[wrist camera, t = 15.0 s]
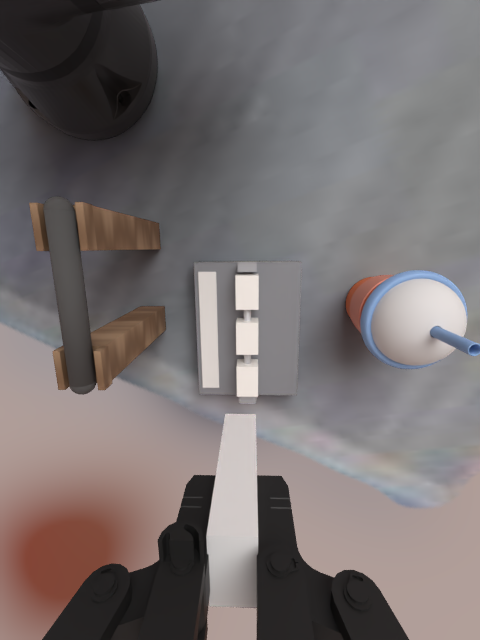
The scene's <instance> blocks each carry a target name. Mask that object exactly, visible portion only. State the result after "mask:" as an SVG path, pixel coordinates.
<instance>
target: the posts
mask: <svg viewBox="0 0 480 640" xmlns="http://www.w3.org/2000/svg"><path fill="white" fill-rule="evenodd" d="M29 205H30V212H31V218H32V224H33V231H34V237H35V243H36V250H37V251H49V244H48V237H47V231H46V224H45V217H44V211H43V207H44V204H40V203H29ZM73 207H74V209H75V213H76V221H77V229H78V237H79V245H80V250H81V251H85V250H144V249H161V247H160V232H159V223H156V222H152V221H149V220H145V219H141V218H137V217H133V216H130V215H126V214H122V213H118V212H114V211H110V210H107V209H103V208H99V207H95V206H92V205H91V204H88V203H84V202H75V205H73ZM165 330H166V322H165V307H164V306H141V307H139V308H137V309H135V310H133V311H131V312H129V313H127V314H125V315H124V316H122V317H120V318H118V319H116V320H114V321H112V322H110V323H108V324H106V325H105V326H103V327H101V328H99V329H97V330H95V331H93V332H91V341H92V349H93V357H94V365H95V373H96V383H98V390H106V389H107V388H108V387H109V386H110V385H111V384H112V380H113V379H114V378H115V377H116V376H117V375H118V374H119V373H120V372H121V371H123V370H124V369H125V368H126V367H127V366H128V365H129V364H130V363H131V362H132V361H133V360H134V359H135V358H136V357H137V356H138V355H139V354H140V353H142V352H143V351H144V350H145V349H146V348H147V347H148V346H149V345H150V344H151V343H152V342H153V341H154V340H155V339H156V338H157V337H158V336H159V335H161V334H162V333H163V332H164V331H165ZM53 357H54V364H55V370H56V377H57V383H58V389H59V390H66V389H67V388H68V387H70V386H69V379H68V372H67V366H66V359H65V352H64V346H61V347H60V348H58V349H56V350H54V351H53Z"/></svg>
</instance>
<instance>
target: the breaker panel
mask: <svg viewBox="0 0 480 640" xmlns="http://www.w3.org/2000/svg"><path fill="white" fill-rule="evenodd" d="M236 274H258V275H259V310H251V318H258V355H251V359H258V395H297V382H298V355H299V328H300V301H301V274H302V262H300V261H213V262H195V263H194V284H195V307H196V330H197V354H198V377H199V394H213V395H237V370H236V366H237V359H244V355H236V320H237V318H244V310H236V288H235V275H236ZM239 404H256V397H239Z"/></svg>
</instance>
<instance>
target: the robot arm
mask: <svg viewBox="0 0 480 640" xmlns="http://www.w3.org/2000/svg"><path fill="white" fill-rule="evenodd" d="M154 1H159V0H0V69H1V71H2V72H3V73H4V75H5V76H6V77H7V79H8V80H9V81H10V83H11V84H12V85H13V86H14V87H15V89H16V90H17V92H18V93H19V95H20V96H21V97H22V99H23V100H24V101H25V102H26V104H27V105H28V106H29V107H30V108H31V109H32V110H33V111H34V112H35V113H36V114H37V115H38V116H40V117H41V118H42V119H43V120H45V121H46V122H48V123H49V124H51V125H52V126H54V127H56V128H57V129H59V130H61V131H62V132H64V133H66V134H68V135H71V136H74V137H77V138H80V139H86V140H102V139H107V138H111V137H114V136H116V135H119V134H121V133H122V132H124V131H126V130H127V129H129V128H130V127H131V126H132V125H133V124H134V123H135V122H136V121H137V120H138V119H139V118H140V117H141V116H142V114H143V113H144V111H145V110H146V108H147V106H148V104H149V102H150V100H151V97H152V95H153V92H154V88H155V84H156V78H157V51H156V45H155V41H154V37H153V34H152V31H151V28H150V26H149V23H148V21H147V19H146V17H145V15H144V13H143V10H142V8H141V6H140V4H144V3H149V2H154ZM158 547H159V559H160V560H159V561H157V562H156V563H154V564H153V565H151V566H149V567H146V568H143V569H140V570H137V571H134V572H130V573H129V572H128V570H127V568H125V567H124V566H122V565H121V564H109V565H105V566H102V567H100V568H99V569H97V570H96V571H94V572H93V573H92V574H91V575H90V576H89V577H88V578H87V579H86V580H85V581H84V583H83V584H82V586H81V587H80V588H79V590H78V591H77V593H76V594H75V595H74V597H73V598H72V599H71V601H70V602H69V603H68V605H67V606H66V608H65V609H64V610H63V612H62V613H61V614H60V616H59V617H58V619H57V620H56V621H55V623H54V624H53V626H52V627H51V628H50V630H49V631H48V632H47V634H46V635H45V636H44V638H43V639H42V640H207V630H208V628H207V613H208V605H209V606H213V607H240V608H257V640H409V639H408V637H407V635H406V634H405V632H404V630H403V628H402V627H401V625H400V623H399V622H398V620H397V618H396V617H395V615H394V613H393V612H392V610H391V608H390V606H389V605H388V603H387V601H386V600H385V598H384V596H383V595H382V593H381V591H380V590H379V588H378V587H377V586H376V585H375V583H374V582H373V581H372V580H371V579H370V578H368V577H367V576H366V575H364V574H363V573H360V572H357V571H355V570H344V571H342V572H340V573H338V574H337V575H336V576H335V578H333V577H331V576H328V575H326V574H323V573H320V572H318V571H316V570H314V569H313V568H311V567H310V566H309V565H308V564H307V563H306V562H305V561H304V560H303V559H302V557H301V555H300V553H299V551H298V548H297V543H296V536H295V529H294V522H293V516H292V509H291V502H290V497H289V489H288V485H287V484H286V482H285V481H284V480H283V478H282V476H257V457H256V414H225V420H224V426H223V433H222V439H221V446H220V453H219V459H218V465H217V472H216V476H212V475H211V476H210V475H194V476H193V477H192V478H191V480H190V481H189V482H188V483H187V485H186V488H185V492H184V496H183V499H182V503H181V508H180V510H179V514H178V518H177V521H176V522H175V523H174V524H171V525H169V526H168V527H167V528H166V529H165V530H164V531H163V532H162V533H161V535H160V537H159V539H158Z"/></svg>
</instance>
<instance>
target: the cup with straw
mask: <svg viewBox="0 0 480 640" xmlns="http://www.w3.org/2000/svg"><path fill="white" fill-rule="evenodd" d="M346 310H347V313H348V315H349V317H350V318H351V320H352V322H353V324H354V325H355V327H356V328H357V329H358V331H359V332H360V333H361V334H362V338H363V341H364V343H365V345H366V346H367V348H368V349H369V351H370V352H371V353H372V354H373V355H374V356H375V357H376V358H377V359H379V360H380V361H382V362H383V363H385V364H387V365H390V366H393V367H396V368H401V369H418V368H423V367H427V366H430V365H432V364H435V363H437V362H438V361H440V360H442V359H443V358H445V357H446V356H448V355H449V354H450V353H452V352H453V351H454V350H455V349H456V348H457V349H459V350H461V351H463V352H465V353H467V354H469V355H471V356H477V355H479V354H480V344H478V343H475V342H473V341H471V340H468V339H466V338H464V337H463V336H464V334H465V331H466V325H467V307H466V303H465V300H464V297H463V295H462V293H461V292H460V290H459V289H458V288H457V287H456V285H455V284H453V283H452V282H451V281H450V280H448V279H447V278H445V277H444V276H442V275H439V274H437V273H434V272H430V271H424V270H413V271H406V272H402V273H399V274H396V275H380V276H376V277H368V278H365V279H362V280H360V281H359V282H357V283H356V284H355V285H354V286H353V287H352V288H351V289H350V291H349V293H348V295H347V298H346Z"/></svg>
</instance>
